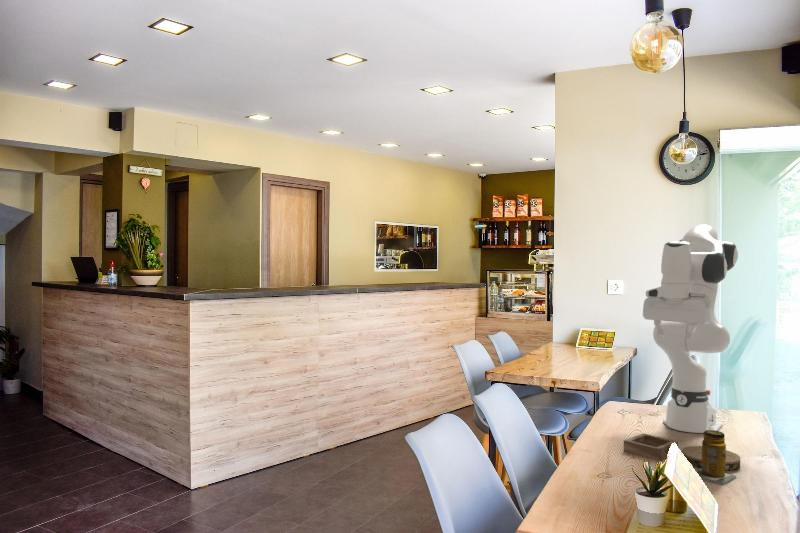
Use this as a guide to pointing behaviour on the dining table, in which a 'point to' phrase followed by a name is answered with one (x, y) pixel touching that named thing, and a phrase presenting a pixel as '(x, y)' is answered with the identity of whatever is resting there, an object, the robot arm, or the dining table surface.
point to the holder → (648, 446)
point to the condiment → (713, 456)
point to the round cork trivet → (695, 458)
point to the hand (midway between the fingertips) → (675, 336)
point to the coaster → (720, 481)
